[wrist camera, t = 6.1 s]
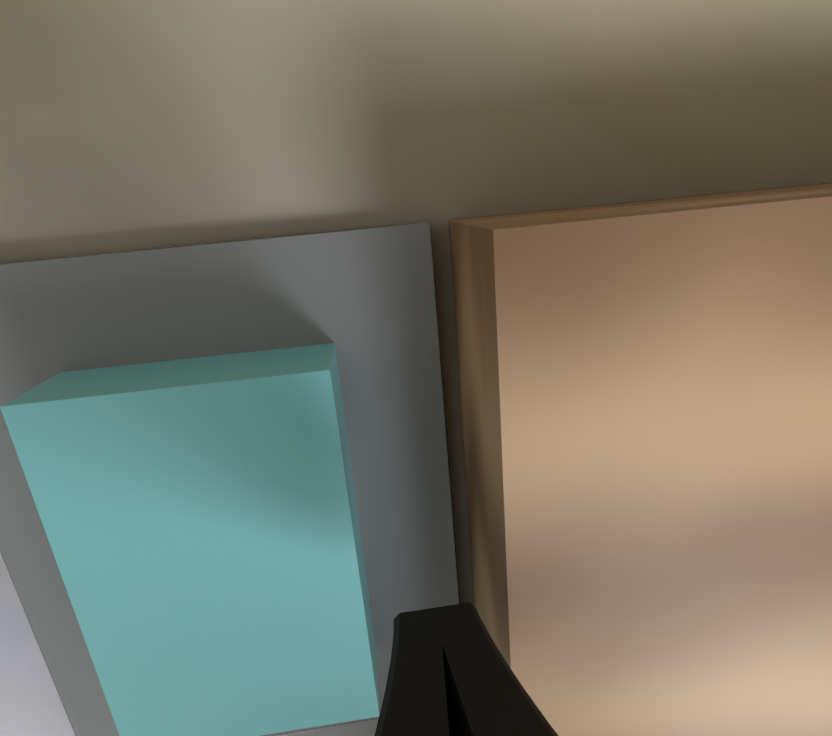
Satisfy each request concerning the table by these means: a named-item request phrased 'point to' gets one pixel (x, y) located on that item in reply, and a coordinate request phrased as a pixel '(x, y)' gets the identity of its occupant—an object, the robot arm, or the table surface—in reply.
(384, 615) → the grey flat slab
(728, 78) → the table surface
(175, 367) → the aqua rectangular block
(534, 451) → the brown wooden flat block
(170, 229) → the table surface
